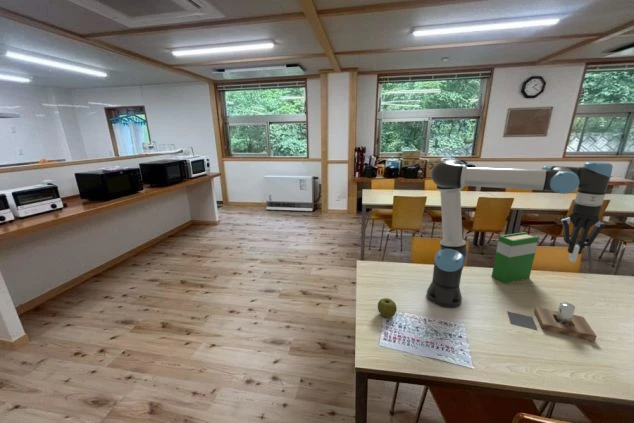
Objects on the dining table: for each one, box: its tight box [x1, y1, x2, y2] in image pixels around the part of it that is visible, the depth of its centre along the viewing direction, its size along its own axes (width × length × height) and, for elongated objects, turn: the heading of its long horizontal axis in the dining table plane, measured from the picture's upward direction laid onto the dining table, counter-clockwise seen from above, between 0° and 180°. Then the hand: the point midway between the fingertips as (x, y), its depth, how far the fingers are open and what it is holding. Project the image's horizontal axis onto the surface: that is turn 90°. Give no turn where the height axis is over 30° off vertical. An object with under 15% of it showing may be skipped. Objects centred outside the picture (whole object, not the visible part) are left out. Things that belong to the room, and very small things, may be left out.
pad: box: [506, 310, 539, 331], centre depth 114 cm, size 9×9×1 cm
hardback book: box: [491, 231, 540, 284], centre depth 144 cm, size 18×7×24 cm, turn 106°
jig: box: [533, 306, 598, 343], centre depth 110 cm, size 16×12×3 cm
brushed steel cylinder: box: [556, 301, 576, 325], centre depth 109 cm, size 4×4×10 cm
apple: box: [377, 297, 397, 319], centre depth 117 cm, size 8×8×7 cm
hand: (571, 260), depth 109 cm, fingers closed
